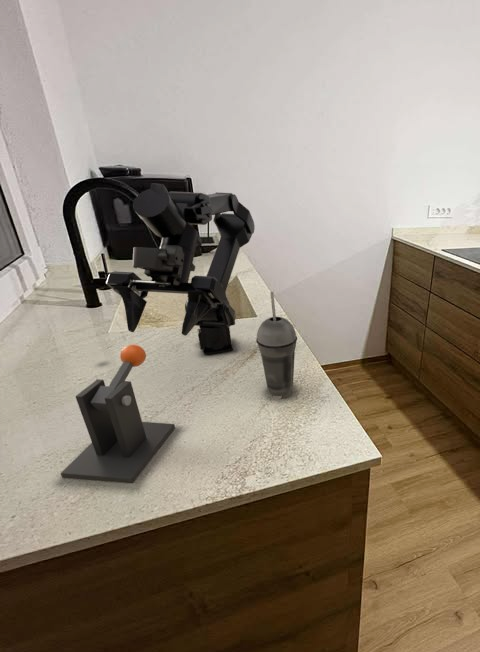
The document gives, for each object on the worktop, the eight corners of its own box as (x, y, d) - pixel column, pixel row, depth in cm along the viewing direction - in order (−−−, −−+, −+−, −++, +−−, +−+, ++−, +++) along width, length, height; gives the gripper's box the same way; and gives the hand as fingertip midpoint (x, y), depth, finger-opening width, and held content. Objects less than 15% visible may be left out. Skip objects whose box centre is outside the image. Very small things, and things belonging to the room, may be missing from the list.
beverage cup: (267, 407, 71) (257, 303, 61) (257, 387, 76) (247, 290, 67) (304, 397, 74) (301, 298, 64) (292, 379, 79) (287, 285, 70)
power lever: (132, 353, 62) (122, 339, 59) (153, 355, 61) (144, 340, 59) (96, 413, 54) (83, 400, 52) (119, 415, 54) (108, 401, 52)
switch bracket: (117, 426, 64) (97, 365, 59) (176, 431, 64) (161, 369, 58) (63, 481, 53) (33, 411, 48) (133, 486, 53) (111, 417, 48)
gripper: (97, 222, 63) (68, 310, 58) (210, 228, 62) (190, 317, 57) (136, 259, 73) (115, 336, 69) (233, 264, 73) (218, 342, 68)
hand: (157, 333), depth 65 cm, fingers open, 9 cm apart
